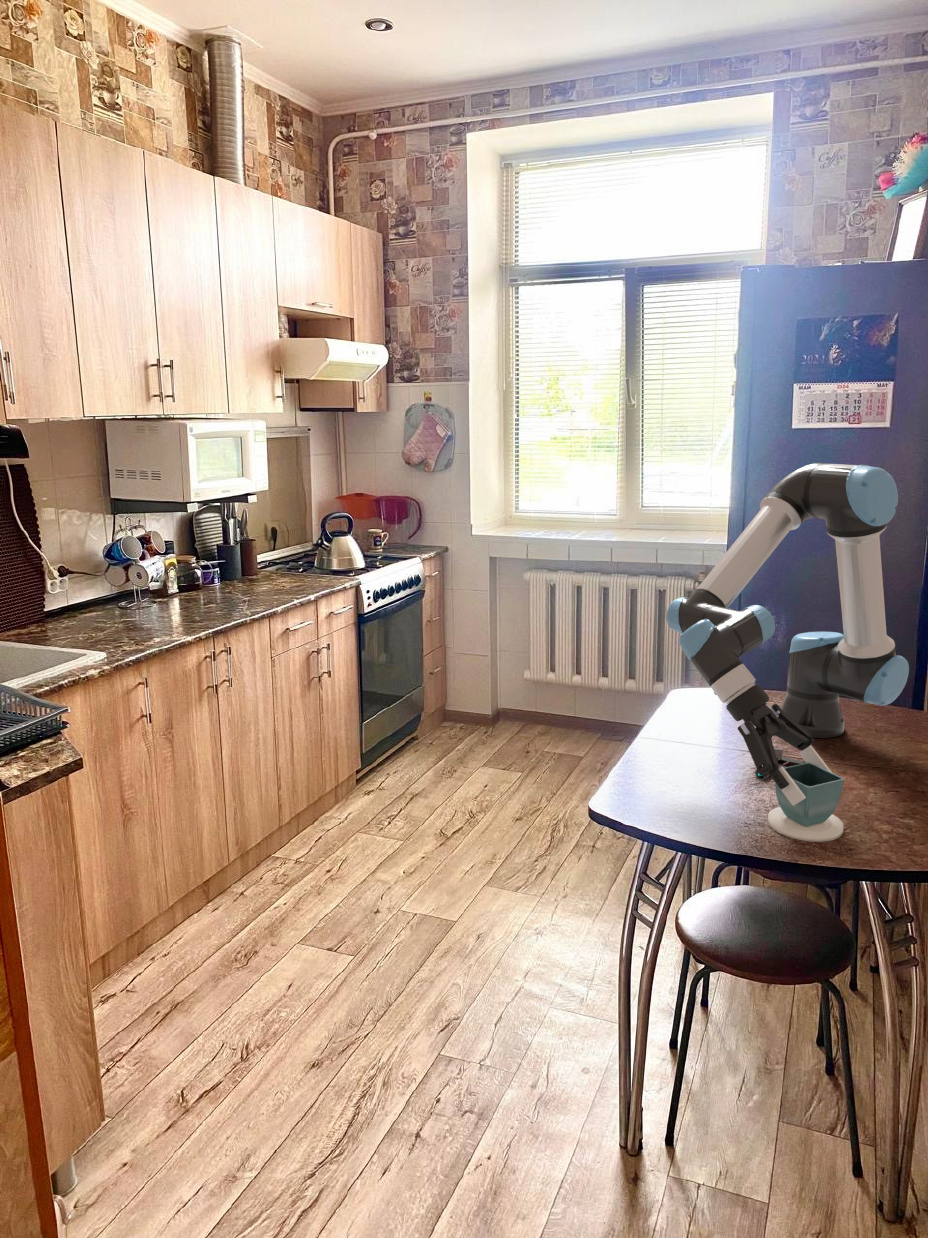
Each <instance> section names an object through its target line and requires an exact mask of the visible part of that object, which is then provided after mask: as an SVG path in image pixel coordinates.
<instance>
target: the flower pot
mask: <svg viewBox="0 0 928 1238" xmlns="http://www.w3.org/2000/svg"><path fill="white" fill-rule="evenodd" d="M784 769H785V770H786V771H787V773H788V774H789V775H790V777H791V778H792V779H793V781H794V782H795V783H796V785H797V786H798V787H799V789H800V790H801V791H802V793H803V794H804V795H805V797H806V798H805V799H804V800H802V801H800V802H799V803H797V804H795V805H794V806H793V805H792V804H791V803H790V801H789V800H788V799H787V797H786V796H785V795H784V793H783V792H782V791H781V789H780V788H779V787H778V785H777V784H776V783H775V782H774V786H775V787H774V788H775V796H776V799H777V802H778V804H779V807H781V809H782V811H783V812H784V814H785V816H786V817H788V818H790V819H792V820H794V821H796V822H797V823H799V824H801V825H803V826H810V825H814V824H818V823H821V822H825V821H826V820H827V819H828V818H829V817H830V816H831V815H832V814H834V812H835V810H836V809H837V807H838V805H839V803H840V798H841V796H842V791H843V787H844V783H845V778H844V777H843V776H840V775H837V774H835V773H833V772H832V773H831V772H829V771H827V770H825V769H823V768H820V767H818V766H816V765H814V764H812V763H802V764H799V765H794V766H790V767H786V768H784Z"/></svg>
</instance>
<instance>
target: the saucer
mask: <svg viewBox="0 0 928 1238" xmlns="http://www.w3.org/2000/svg"><path fill="white" fill-rule="evenodd" d="M842 821H843V820H841V819H840V818H839V817H837V816H836V815H835V814H834V813H832V815H831V816H830V817H829V818H828V819H827V820H826V821H825V822H821V823H818V824H814V825H810V826H803V825H801V824H799V823H797V822H796V821H794V820H792V819H790V818H788V817H786V816H785V814H784V812H783V811H782V809H781V807H780V806H778V807H775V808H773V809H771V810H770V811H769V812H768V815H767V823H768V825H769V827H770V828H771V829H772V830H773V831H775V832H776V833H779V834H780V835H782V836H785V837H788V838H791V839H794V840H798V841H803V842H810V843H811V842H816V843H823V842H831V841H834V840H837V839H839V838H840V837H841V836H843V833H844V823H843V822H842Z"/></svg>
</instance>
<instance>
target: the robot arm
mask: <svg viewBox="0 0 928 1238" xmlns="http://www.w3.org/2000/svg"><path fill="white" fill-rule="evenodd" d="M898 503H899V493H898V487H897V483H896V482H895V479H894V478H893V476H892V475H891V474H890V473H889V472H888V471H886V470H885V469H884V468H880V467H877V466H870V465H866V464H842V463H841V464H839V463H827V462H814V463H810V464H809V463H808V464H806V465H804V466H802V467H799V468H798V469H796V470H794V471H792V472H791V473H789V474H788V475H786V476H784V477H783V478H782V479H781V480H780V481H779V482H777V483H776V484H775V485H774V486H773V487H772V488H771V489H770V490H769V492H768V493H766V495H765V496H764V497H763V498H762V499H761V501H760V504H759V508H760V510H759V511H758V512H757V514H756V515H755V516H754V518H752V520H751V521H750V522H749V524H747V526H746V527H745V529H744V530H743V531H742V532H741V533H740V534H739V536H738V537H737V538H736V540H735V541H734V542H733V543H732V545H731V546H730V547H729V548H728V550H726V552H725V554H724V555H723V556H722V557H721V558H720V559H719V561H718V562H717V563H716V565H714V567H713V568H712V570H711V571H709V573H708V574H707V576H706V577H705V578H704V579H703V580H702V582H700V584H699V585H698V586H697V588H696V589H695V591H693V593H692V594H691V596H690V597H687V596H686V597H678V598H676V599H674V600H673V601H671V603H670V604H669V606H668V608H667V611H666V623H667V625H668V627H669V628H670V629H671V631H673V632H676V633H678V634H680V636H679V637H678V644H679V646H680V649H681V650H682V651H683V653H684V654H685V656H686V657H687V658H686V659H687V660H689V662H690V663H691V664H692V665H693V666H694V667H695V669H696V670H697V672H698V673H699V674H700V676H701V677H702V679H703V680H704V681H705V682H706V683H707V685H708V686H709V687H710V688H711V689H712V691H713V694H714V695H715V696H717V697H718V699H719V700H720V701H721V703H723V704H725V703H726V705H725V708H726V711H728V713H729V714H730V715H731V716H732V718H733V719H734V721H735V722H741V721H742V720H743V723H741V724H740V725H739V726H738V727H737V730H738V732H739V733H740V735H741V736H742V738H743V740H744V743H745V744H746V746H747V750H748V751H749V754H750V756H751V759H752V761H753V763H754V765H755V769H757V771H758V773H759V774H760V775H762V776H761V777H763V778H764V777H767V776H768V775H770V776H769V777H770V778H771V779H772V780H773V782H774V784H775V783H776V784H777V785H778V787H779V788H780V789H781V791H782V792H783V793H784V795H785V796H786V797H787V799H788V800H789V801H790V803H791V804H792V805H793V806H794V805H795V804H797V803H799V802H800V801H802V800H804V799H805V798H806V797H805V795H804V794H803V793H802V791H801V790H800V789H799V787H798V786H797V785H796V783H795V782H794V781H793V779H792V778H791V777H790V775H789V774H788V773H787V771H786V770H785V769H784V768H783V766H782V767H781V768H779V765H778V761H777V757H776V754H775V750H774V748H775V747H774V743H773V739H772V738H773V737H778V738H779V739H781V740H782V741H784V742H786V743H788V745H790V746H792V747H793V748H796V749H797V750H799V751H800V752H798V755H800V757H801V758H802V759H803V760H802V761H805V762H806V763H812V764H814V765H816V766H818V767H820V768H823V769H825V770H827V771H829V772H831V773H833V771H832V770H831V769H830V768H829V766H828V765H827V763H825V761H824V760H823V758H821V757H822V756H820V755H819V754H818V752H817V751H816V749H815V748H814V747H813V746H812V744H815V739H817V738H818V739H828V738H829V739H830V738H835V737H839V736H841V735H842V734H844V732H845V731H844V730H845V719H844V716H843V711H842V707H841V704H840V695H841V696H845V697H848V698H852V699H855V700H858V701H862V702H864V703H865V704H872V705H876V706H887V705H890V704H892V703H893V702H894V701H895V700H896V699H898V697H899V696H900V694H901V693H902V692H903V690H904V688H905V687H906V684H907V682H908V678H909V674H910V673H909V672H910V665H909V662H908V660H907V659H906V658H905V657H903V656H902V655H899V654H898V655H897V654H896V643H895V640H894V639H893V638H891V637H890V636H888V634H887V625H886V624H887V622H886V607H885V595H884V580H883V569H882V554H881V552H882V551H881V539H880V535H881V534H882V533H883V532H885V530H886V529H887V528H888V526H887V524H888V523H889V522H890V521H891V520H892V519H893V517H894V516H895V515H896V512H897V510H896V507H897V506H898ZM812 518H813V519H814V518H815V519H821V520H824V521H825V529H826V534H827V536H830V537H831V538H832V539H834V540H835V551H836V562H837V573H838V584H839V595H840V606H841V618H842V620H841V621H842V629H843V633H841V632H835V631H808V632H802V633H797V634H796V635H794V636H793V637H792V639H791V642H790V647H789V648H790V649H789V651H788V654H789V656H788V670H787V686H786V693H785V696H784V700H782V705H781V707H780V706H779V705H778V703H774V704H772V705H771V706H768V705H767V703H768V702H770V696H769V695H768V694H767V692H766V691H765V690H764V689H763V687H762V686H761V685H760V684H758V683H757V684H756V680H757V679H756V678H755V677H754V676H753V674H752V673H751V672H750V670H749V669H748V668H747V666H745V664H744V663H743V661H742V660H741V659H740V657H741V656H743V655H745V654H747V653H749V652H751V651H752V650H755V649H756V648H758V647H760V646H762V645H763V644H764V643H765V642H766V641H768V640H770V638H772V637H773V636H774V634H775V630H776V623H775V619H774V616H773V615H772V614H771V612H770V611H769V610H768V609H767V608H765V606H762V605H759V604H753V605H749V606H748V607H747V606H746V607H744V608H743V609H742V610H738V609H737V610H736V609H733V608H729V607H730V606H731V605H732V603H733V602H734V601H735V600H736V598H737V597H738V596H739V595H740V594H741V593H742V591H743V590H744V589H745V587H747V585H748V584H749V582H750V581H751V580H752V579H753V577H754V576H755V574H756V573H757V572H758V571H759V569H761V567H762V566H763V565H764V563H765V562H767V560H768V559H769V558H770V556H771V555H772V554H773V552H774V551H775V550H776V549H777V547H778V546H779V545H780V544H781V542H782V541H783V540H784V538H785V537H786V536H787V535H788V534H789V532H790V531H794V530H797V529H799V527H801V525H802V524H803V522H804V521H806V520H809V519H812ZM762 765H763V766H762ZM767 778H768V777H767Z"/></svg>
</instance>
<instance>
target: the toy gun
mask: <svg viewBox="0 0 928 1238" xmlns="http://www.w3.org/2000/svg"><path fill="white" fill-rule="evenodd" d="M774 750H775V754H776V757H777V761H778V765H779V768H781V767H782V766H783V768H786V767H790V766H794V765H799V764H802V763H806V762H805V761H804V760H800V759H799V760H798V759H795V758H794V759H792V758H789V757H785V756H783V753H784V752H783V749H782V748H775V747H774ZM762 766H763V765H762ZM754 775H755V777H756V778H760V777H763V776H762V775H760V774H759V773H758V771H757V768H755V770H754ZM769 777H771V776H770V775H768V776H767V777H763V778H762V780H765V779H768V778H769Z"/></svg>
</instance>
